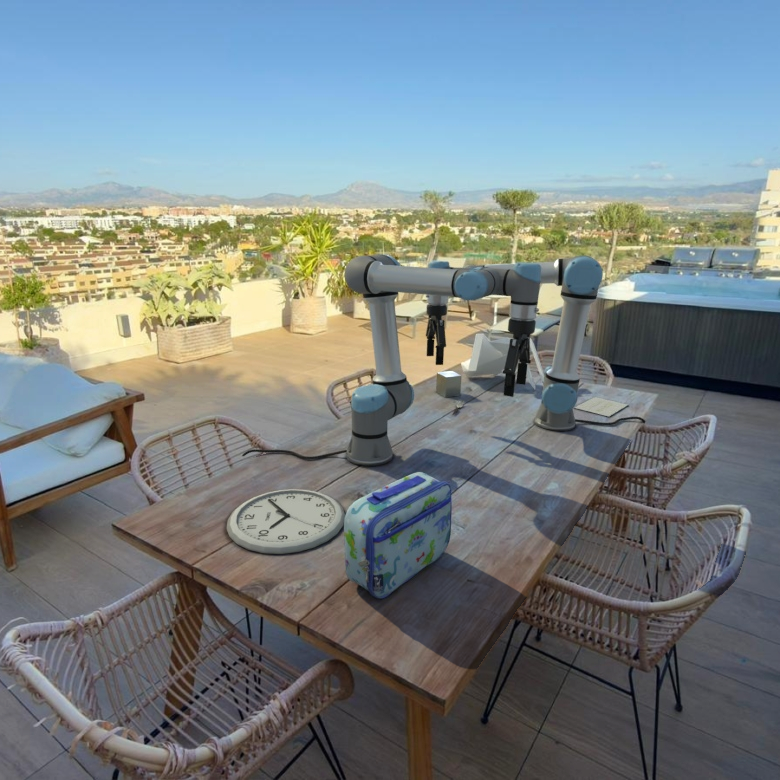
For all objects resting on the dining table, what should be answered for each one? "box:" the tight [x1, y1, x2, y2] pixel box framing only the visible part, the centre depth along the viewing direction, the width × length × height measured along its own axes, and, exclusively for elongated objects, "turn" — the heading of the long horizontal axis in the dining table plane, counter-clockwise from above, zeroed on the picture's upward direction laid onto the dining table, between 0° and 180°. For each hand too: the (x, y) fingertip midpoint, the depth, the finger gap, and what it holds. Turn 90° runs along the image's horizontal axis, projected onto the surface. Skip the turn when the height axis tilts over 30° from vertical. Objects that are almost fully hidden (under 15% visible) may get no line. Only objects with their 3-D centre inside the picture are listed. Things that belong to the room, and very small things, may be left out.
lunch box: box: [343, 471, 453, 599], centre depth 113 cm, size 26×11×21 cm, turn 134°
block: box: [435, 370, 462, 398], centre depth 239 cm, size 8×8×9 cm
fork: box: [452, 399, 465, 416], centre depth 218 cm, size 3×16×2 cm, turn 160°
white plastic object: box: [460, 333, 545, 391], centre depth 259 cm, size 37×45×31 cm
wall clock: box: [226, 488, 346, 555], centre depth 135 cm, size 30×2×30 cm
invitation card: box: [573, 396, 629, 418], centre depth 226 cm, size 21×1×15 cm
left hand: (514, 389), depth 155 cm, fingers open, 13 cm apart
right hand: (434, 360), depth 198 cm, fingers open, 13 cm apart
